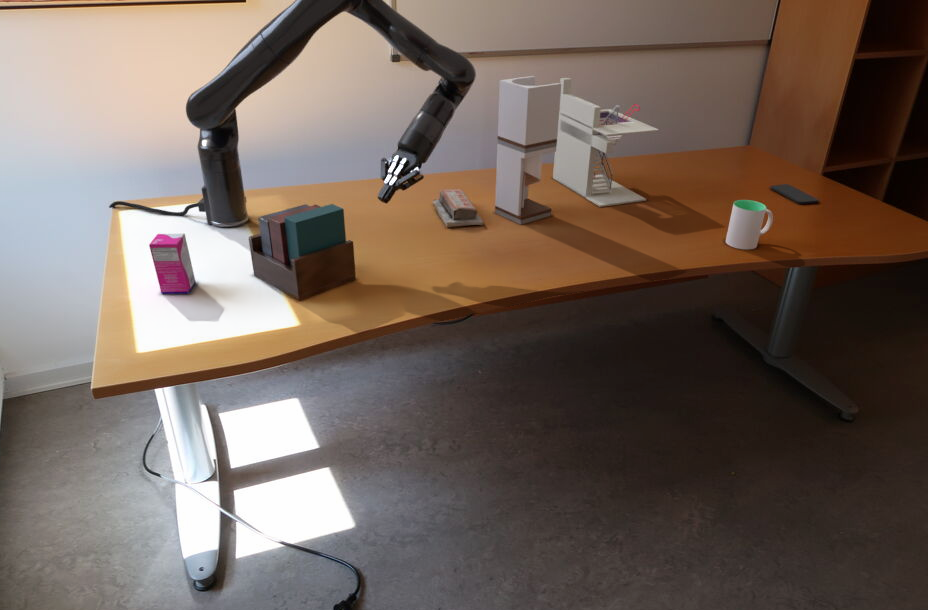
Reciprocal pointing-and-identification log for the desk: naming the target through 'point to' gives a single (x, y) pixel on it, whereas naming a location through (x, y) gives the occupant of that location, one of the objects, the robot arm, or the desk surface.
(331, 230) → the book
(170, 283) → the supplement box
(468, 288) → the desk surface
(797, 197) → the phone
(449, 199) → the packaged product
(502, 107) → the notched white tower
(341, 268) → the book rack
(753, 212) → the mug
